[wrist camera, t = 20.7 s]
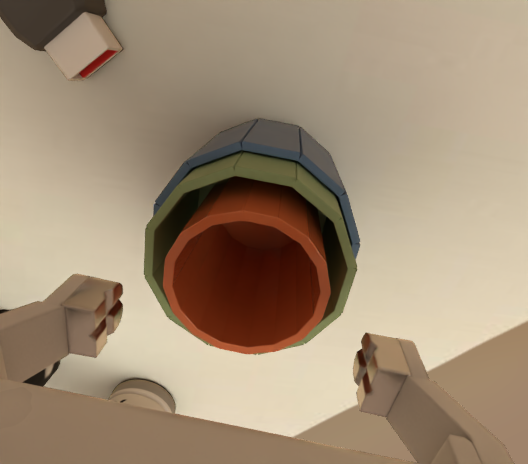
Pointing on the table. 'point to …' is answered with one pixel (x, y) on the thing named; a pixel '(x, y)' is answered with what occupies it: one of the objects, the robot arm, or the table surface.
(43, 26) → the usb drive
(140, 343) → the table surface
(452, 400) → the robot arm
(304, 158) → the cup stack
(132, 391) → the travel mug
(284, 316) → the terracotta cup
